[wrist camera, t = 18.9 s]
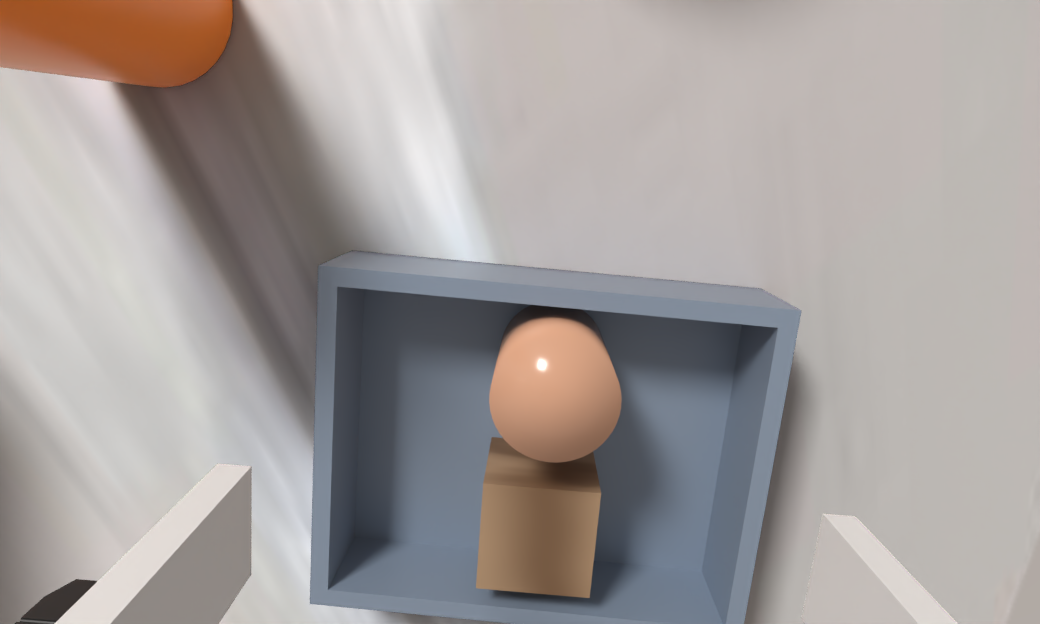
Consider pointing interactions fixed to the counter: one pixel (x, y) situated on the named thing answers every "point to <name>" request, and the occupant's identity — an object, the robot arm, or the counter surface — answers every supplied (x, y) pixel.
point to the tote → (469, 428)
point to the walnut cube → (537, 523)
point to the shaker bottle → (115, 38)
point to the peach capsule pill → (554, 385)
